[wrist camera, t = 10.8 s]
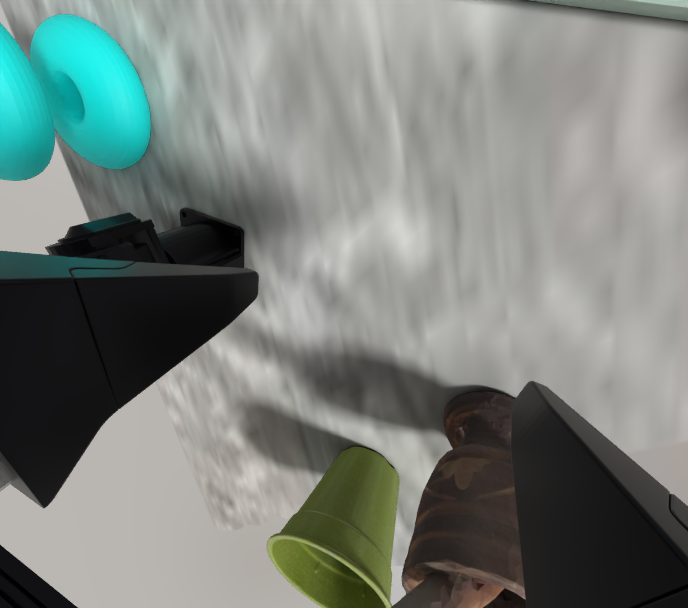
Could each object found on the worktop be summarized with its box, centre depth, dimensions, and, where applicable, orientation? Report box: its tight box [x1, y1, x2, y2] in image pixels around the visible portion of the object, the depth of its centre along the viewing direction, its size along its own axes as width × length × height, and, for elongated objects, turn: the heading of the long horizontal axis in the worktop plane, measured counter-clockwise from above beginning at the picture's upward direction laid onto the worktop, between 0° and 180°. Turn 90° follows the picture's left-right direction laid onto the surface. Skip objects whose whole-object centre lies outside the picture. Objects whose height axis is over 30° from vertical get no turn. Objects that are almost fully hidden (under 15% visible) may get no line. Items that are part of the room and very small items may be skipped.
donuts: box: [0, 14, 151, 181], centre depth 22 cm, size 10×10×10 cm
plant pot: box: [267, 447, 399, 608], centre depth 31 cm, size 12×12×11 cm
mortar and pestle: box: [391, 392, 526, 608], centre depth 18 cm, size 12×9×20 cm
